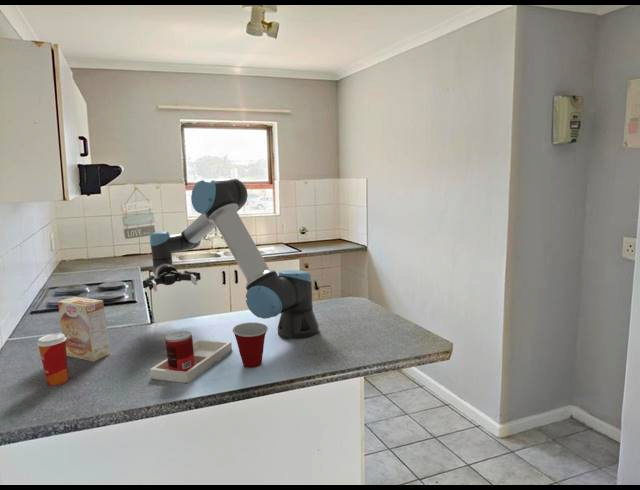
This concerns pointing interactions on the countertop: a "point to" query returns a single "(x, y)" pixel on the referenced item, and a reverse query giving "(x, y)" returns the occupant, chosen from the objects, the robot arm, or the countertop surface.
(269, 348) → the countertop surface
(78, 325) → the coffeecake box
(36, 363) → the countertop surface
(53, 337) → the paper cup
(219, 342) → the divided tray
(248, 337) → the plastic cup
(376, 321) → the countertop surface
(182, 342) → the canned food
